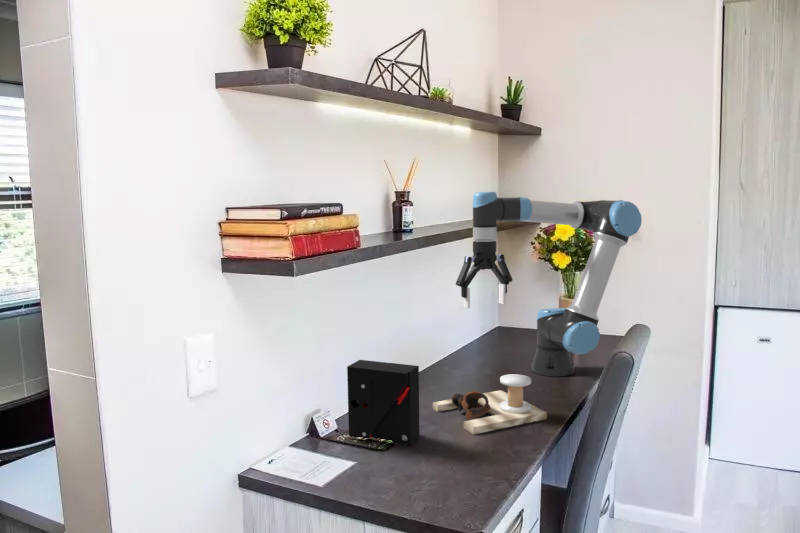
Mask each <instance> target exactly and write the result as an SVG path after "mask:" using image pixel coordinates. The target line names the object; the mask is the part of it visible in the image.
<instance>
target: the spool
mask: <svg viewBox="0 0 800 533" xmlns="http://www.w3.org/2000/svg"><path fill="white" fill-rule="evenodd" d="M499 383H500V384H501V385H504V386H506V387H507V393H508V400H507V401H503V402H501V403H500V409H501V410H502V411H504V412H507V413H514V414H521V413H527V412H529V411H530V410H531V405H532V404H531V405H530V402H527V401H526V400H524V387H528V386H530V385H531V384H532V378H531V377H530V376H528V375H524V374H516V373H515V374H513V373H511V374H504V375H501V376H500V377H499Z"/></svg>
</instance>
